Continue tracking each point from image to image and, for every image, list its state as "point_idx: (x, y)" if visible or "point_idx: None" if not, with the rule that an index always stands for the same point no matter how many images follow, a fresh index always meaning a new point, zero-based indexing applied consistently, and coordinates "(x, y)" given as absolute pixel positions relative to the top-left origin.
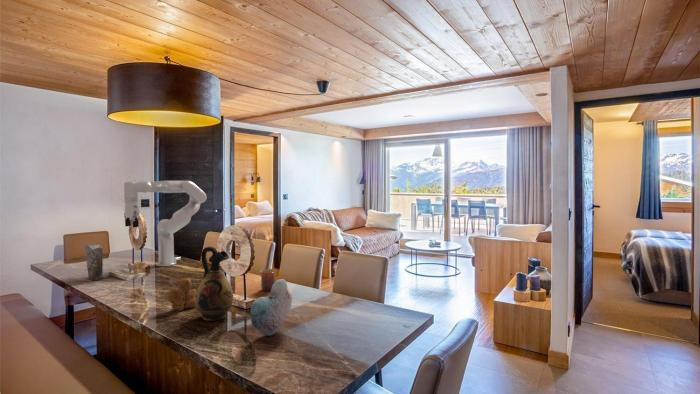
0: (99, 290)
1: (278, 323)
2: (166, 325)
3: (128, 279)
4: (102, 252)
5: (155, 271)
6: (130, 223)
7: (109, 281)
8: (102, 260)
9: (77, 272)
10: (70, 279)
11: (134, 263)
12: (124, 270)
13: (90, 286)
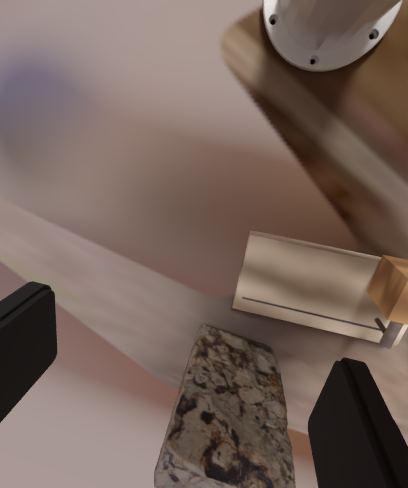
0: None
1: None
2: None
3: None
4: (293, 465)
5: (401, 177)
6: (18, 318)
7: (329, 361)
8: (285, 420)
9: (79, 306)
10: (166, 373)
11: (398, 322)
12: (277, 271)
13: None
